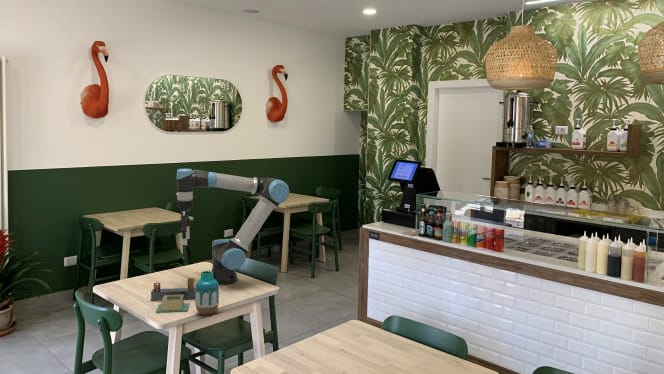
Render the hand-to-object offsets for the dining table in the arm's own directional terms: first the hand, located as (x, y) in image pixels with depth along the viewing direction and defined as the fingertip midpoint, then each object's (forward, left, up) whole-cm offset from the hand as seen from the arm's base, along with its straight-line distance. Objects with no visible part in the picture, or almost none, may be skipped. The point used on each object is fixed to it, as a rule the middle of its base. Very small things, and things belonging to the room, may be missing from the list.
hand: (185, 241), depth 266 cm
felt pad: (+4, +22, -27) cm, 35 cm away
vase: (-12, +30, -27) cm, 42 cm away
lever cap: (+4, +22, -26) cm, 34 cm away
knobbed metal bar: (+5, +8, -27) cm, 28 cm away
